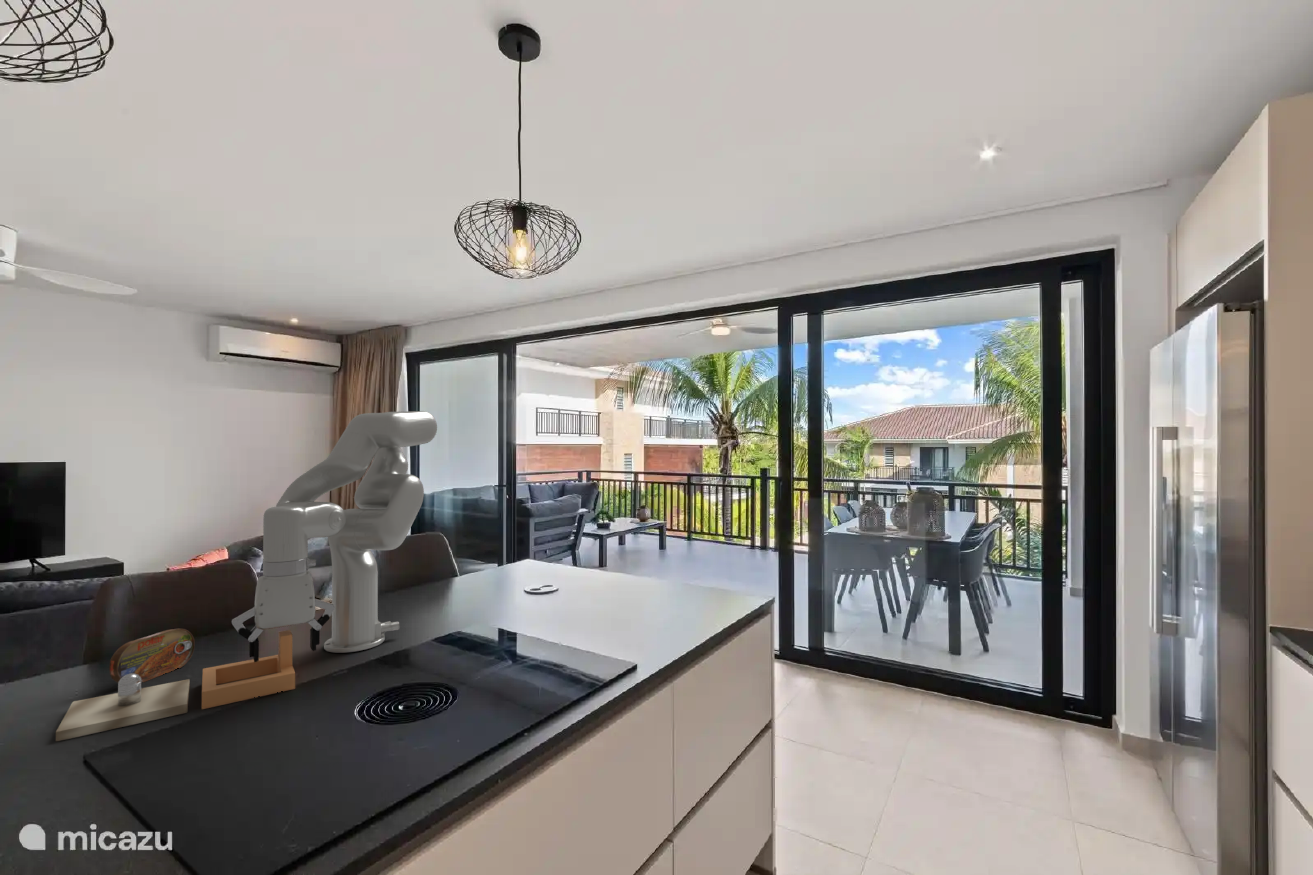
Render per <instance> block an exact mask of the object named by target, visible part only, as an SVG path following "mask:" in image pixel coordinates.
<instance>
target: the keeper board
mask: <svg viewBox="0 0 1313 875" xmlns="http://www.w3.org/2000/svg"><path fill="white" fill-rule="evenodd" d="M190 687H191V686H190V678H188V679H183V680H179V681H178V680H177V681H171V682H168V683H167V682H166V683H162V684H157V685H152V686H146V687H141V701H140V702H139V703H136V704H133V705H130V706H123V707H120V706H118V692H115V693H110V694H105V695H99V696H96V697H95V696H94V697H90V698H89V697H88V698H84V699H79V700H74V701H72V702H71V704H70V706H69V708H67V711H66V713H65V714H64V717H63V718H62V720H61V721H60V722H61V723H60V724H59V725H58V727H57V729H56V731H55V742H60V741H64V740H69V739H74V738H79V737H83V736H88V735H91V734H97V733H100V732H106V731H110V730H115V729H119V728H122V727H124V728H125V727H128V726H129V727H130V726H133V725H137V724H138V725H139V724H141V723H146V722H152V721H155V720H160V719H164V718H168V717H173V716H177V715H183V714H187V713H188V708H189V707H188V706H189V698H190Z"/></svg>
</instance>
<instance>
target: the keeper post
mask: <svg viewBox="0 0 1313 875" xmlns="http://www.w3.org/2000/svg"><path fill="white" fill-rule="evenodd" d="M141 688H142V683H141V677H140V676H139V675H138V674H135V673H131V674H127V675H125V676H123V677H122V678H121V679H120V681H119V683H117V693H118V706H120V707H123V706H130V705H133V704H136V703H139V702H140V701H141Z"/></svg>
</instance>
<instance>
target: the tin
mask: <svg viewBox="0 0 1313 875" xmlns="http://www.w3.org/2000/svg"><path fill="white" fill-rule="evenodd" d="M195 644H196V643H195V637H194V636H193V634H192V633H191V632H190V631H189V630H187V629H186V628H174V629H166V630H163V631H160V632H156V633H154V634H151V635H148V636H144V637H141V638H137V639H135V640H130V641H127V642H126V643H124V644H122V645H121V646H119V647H118V649H116V650H115V651H114V653H113V655H112V656H111V658H110V660H109V666H108V668H109V669H108V670H109V675H110V678H111V679H112V680H113V681H114V682H116V683H117V684H118V683H119V681H120V679H121V678H122V677H123V676H125V675H127V674H131V673H135V674H138V675H139V676H140V677H141V684H143V683H146V682H149V681H150V680H153V679H155V678H159V677H161V676H163V674H164V675H166V674H165V673H167V674H169V673H171V671H172V672H175V671H176V670H175V669H177V668H179V669H180V668H183V667H184V666H185V665H186V664H187V663H188V662H189V661H190V659H191V658H192V656H193V654H194V651H195V648H196V647H195V646H196V645H195ZM174 670H175V671H174ZM177 670H178V669H177ZM142 682H143V683H142Z"/></svg>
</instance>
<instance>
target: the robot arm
mask: <svg viewBox="0 0 1313 875" xmlns="http://www.w3.org/2000/svg"><path fill="white" fill-rule="evenodd" d="M437 431H438V423H437V421H436V418H435V417H434V415H432V413H430V412H429V411H426V410H425V411H424V410H419V411H418V410H415V411H411V410H410V411H408V410H407V411H385V412H368V413H367V412H366V413H361V414H357V415H356V416H354V417H353V418H352V419H351V420H350V421H349V422H348V424H347V426H346V428H345V429H344V431H343V432H342V434H341V435H340V437H339V439H338V440H337V442H336V444H335V445H334V446H333V448H332V450H331V451H330V453H329V455H328V456H327V457H326V458H325V459H324V460H322V461H321V462H319V463H318V464H316V465H314V466H313V467H312V468H310V469H309V470H306V471H305V472H304V473H303V474H301V475H300V476H299V477H297V478H296V479H295V480H294V481H292V483H290V485H289V486H287V488H286V489H285V491H284V493H283V494H282V496H281V497H280V499H279V500H278V502H277V503H276V505H275V506H274V507H273V506H272V507H269V508H267V509H266V510H265V511H264V513H263V521H262V522H263V524H262V525H263V526H262V528H263V536H262V537H263V538H262V540H263V542H262V543H263V544H262V545H263V548H262V552H263V553H262V557H263V558H262V575H261V576H258V577H257V582H256V586H255V593H254V594H255V596H254V605H253V607H252V608H250V609H249V610H246V611H245V612H243V613H241V614H239V615H238V616H236V617H234V618H232V619H231V624H232V626H233V627H234V629H235V630H236V631H237V633H238V634H239V635H240V636H241V637H242V638H244V639H246V640H247V641H248V642H249V645H248V647H249V649H248V652H249V654H248V656H249V658H252V659H254V662H257V661H259V658H260V656H259V655H260V641H259V638H258V637H259V636H260V635H261V634H262V633H263V631H266V630H272V629H279V628H285V627H292V626H298V625H302V624H308V625H309V626H310V627H311V628H310V629H309V633H310V634H309V635H310V636H309V648H310V650H311V651H313V652H315V651H317V645H318V646H319V645H320V643H321V641H320V639H321V638H320V635H321V634H320V632H321V629H322V627H324V625H325V624H326V623H327V622H328V621H329V620H330V617H331V637H330V638H329V639H327V640H326V641H325V642H324V643H323V649H324V650H325V651H326V652H329V653H337V654H339V653H340V654H341V653H354V652H355V653H356V652H359V651H363V650H364V651H365V650H368V649H371V648H375V647H378V646H379V645H381V644H383V642H385V639H386V638H385V633H386V632H392V631H398V630H400V622H399V621H392V622H391V621H390V620H389V621H384V622H381V621H380V620H379V619H378V616H379V615H378V614H379V613H378V612H379V611H378V610H379V609H378V608H379V607H378V606H379V605H378V604H379V603H378V602H379V601H378V592H379V591H378V590H379V589H378V587H379V586H378V585H379V584H378V577H379V576H378V575H379V573H378V571H379V570H378V563H377V561H376V560H377V559H376V558H375V556H374V554H373V552H372V551H392V550H395V549H397V548H399V547H400V546H401V545H403V543H404V541H405V539H406V537H407V536H408V535H409V532H410V531H411V527H412V526H413V524H414V522H415V520H416V518H417V516H418V513H419V512H420V509H421V507H422V504H423V501H424V496H425V490H424V489H425V488H424V485H423V482H422V481H421V479H420V478H419V477H417V476H416V475H414V474H410V473H407V472H408V469H409V462H408V460H407V456H406V455H405V454H404V452H403V450H402V449H401V448H407V447H414V446H419V445H420V446H421V445H425V444H428V443H430V442H432V441H433V439H434V438H435V437H436V435H437ZM361 478H362V479H361ZM360 479H361V481H360V482H359V484H358V486H357V488H356V489H355V490H356V491H355V493H354V498H353V499H354V500H353V501H354V503H355V505H356V506H357V508H347V509H343V507H342V506H340V505H339V504H337V503H334V502H329V501H316V500H317V499H319V498H320V497H322V496H323V495H326V493H328V492H331V491H333V490H336V489H338V488H341V487H345V486H346V485H349V484H351V483H355V482H356V481H359V480H360ZM315 538H316V539H318V538H323V539H324V538H327V542H328V546H329V550H330V557H331V558H330V559H331V603H330V602H327V601H323V600H321V599H317V598H315V597H316V596H315V595H316V594H315V593H316V592H315V586H314V579H313V574H312V571H310V570H309V569H310V568H312V567H315V566H316V565H317V559H316V558H314V559H312V558H309V557H308V554H309V550H308V549H309V548H308V546H309V543H308V541H309V539H315ZM316 608H320V609H322V610H324V612H323V614H322V615H321V616H320V617H319V618H318V619H316ZM252 617H253V620H254V624H255V626H254V627H252V629H251V630H250V629H249V628H247V627H245V626H244V624H243V623H244V622H245V621H247V620H249V619H252Z"/></svg>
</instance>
